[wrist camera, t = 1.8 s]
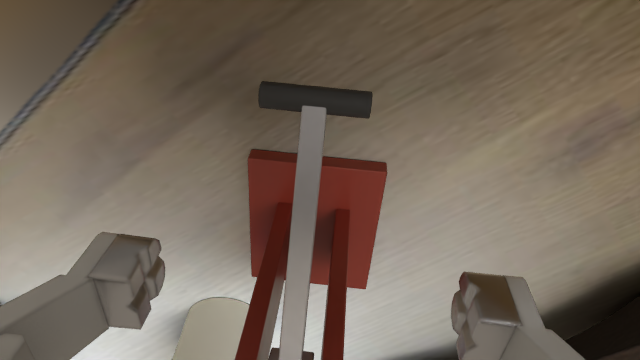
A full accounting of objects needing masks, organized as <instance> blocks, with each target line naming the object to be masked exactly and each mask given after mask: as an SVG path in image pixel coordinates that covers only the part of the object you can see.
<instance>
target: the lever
mask: <svg viewBox="0 0 640 360" xmlns="http://www.w3.org/2000/svg"><path fill="white" fill-rule="evenodd" d="M259 106H260V108H266V109H276V110H287V111H297V112H301V123H300V134H299V144H298V155H297V166H296V176H295V187H294V198H293V209H292V219H291V230H290V241H289V252H288V262H287V273H286V284H285V294H284V305H283V316H282V327H281V337H280V348H272V349H271V352H270V355H269V358H268V360H314V353H313V352H306V351H303V347H304V337H305V327H306V317H307V307H308V297H309V287H310V277H311V267H312V257H313V247H314V237H315V227H316V217H317V207H318V197H319V187H320V177H321V167H322V157H323V147H324V137H325V127H326V117H327V115H337V116H347V117H357V118H369V117H370V113H371V106H372V92H369V91H359V90H349V89H338V88H328V87H318V86H307V85H297V84H286V83H276V82H266V81H262V82H261V84H260V88H259Z"/></svg>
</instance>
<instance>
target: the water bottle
mask: <svg viewBox="0 0 640 360" xmlns="http://www.w3.org/2000/svg"><path fill="white" fill-rule="evenodd" d="M249 306H250V305H249V304H246V303H244V302H241V301H238V300H235V299H230V298H209V299H205V300H202V301H200V302H198V303H196V304H195V305H193V306H192V307H191V309H190V310H189V312H188V315H187V318H186V321H185V324H184V327H183V330H182V333H181V336H180V339H179V342H178V345H177V347H176V350H175V353H174V356H173V359H172V360H235V357H236V353H237V349H238V346H239V342H240V338H241V335H242V331H243V327H244V324H245V320H246V317H247V313H248V309H249Z"/></svg>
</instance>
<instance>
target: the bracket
mask: <svg viewBox="0 0 640 360" xmlns="http://www.w3.org/2000/svg"><path fill="white" fill-rule="evenodd" d="M297 155H298V154H293V153H284V152H274V151H264V150H254V149H252V150H251V152H250V155H249V157H248V179H249V209H250V239H251V269H252V277H257V280H256V284H255V287H254V291H253V295H252V298H251V302H250V306H249V309H248V313H247V317H246V320H245V324H244V327H243V331H242V335H241V338H240V342H239V346H238V349H237V353H236V357H235V360H268V357H269V352H270V347H271V343H272V338H273V333H274V328H275V323H276V318H277V313H278V309H279V304H280V299H281V294H282V289H283V284H284V280H286V273H287V262H288V252H289V241H290V230H291V219H292V209H293V198H294V187H295V176H296V166H297ZM386 176H387V164H386V163H382V162H372V161H362V160H352V159H342V158H333V157H322V167H321V177H320V187H319V197H318V207H317V217H316V227H315V237H314V247H313V257H312V267H311V277H310V283H314V284H323V285H328V290H327V300H326V311H325V321H324V332H323V342H322V353H321V360H343V353H344V333H345V312H346V291H347V287H349V288H358V289H366V285H367V280H368V274H369V269H370V263H371V258H372V252H373V247H374V242H375V236H376V231H377V225H378V220H379V214H380V209H381V203H382V198H383V193H384V187H385V182H386Z"/></svg>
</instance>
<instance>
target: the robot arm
mask: <svg viewBox="0 0 640 360" xmlns="http://www.w3.org/2000/svg"><path fill="white" fill-rule="evenodd" d="M160 251H161V245H160V241H159V240H158V239H155V238H148V237H140V236H132V235H125V234H114V233H107V232H102V233H100V234H98V235H97V236H96V237H95V239H94V240H93V241H92V242H91V244H90V245H89V246H88V248H87V249H86V250H85V251H84V253H83V254H82V255H81V257H80V258H79V259H78V260H77V262H76V263H75V264H74V266H73V267H72V268H71V270H70V271H69V272H68V273H67V275H59V276H57V277H55V278H53V279H51V280H50V281H48V282H46V283H44V284H42V285H40V286H38V287H36V288H34V289H32V290H30V291H29V292H27V293H25V294H23V295H21V296H19V297H17V298H15V299H13V300H11V301H10V302H8V303H6V304H4V305H2V306H0V360H70V359H71V358H72V357H73V356H75V355H76V354H77V353H78V352H80V351H81V350H82V349H83V348H85V347H86V346H87V345H88V344H90V343H91V342H92V341H94V340H95V339H96V338H97V337H99V336H100V335H101V334H102V333H104V332H105V331H106V330H107V329H109V327H119V328H131V329H141V328H142V326H143V324H144V322H145V320H146V318H147V316H148V314H149V312H150V310H151V305H150V300H152V299H153V298H155V297H156V296H158V295H159V292H160V290H161V288H162V286H163V282H164V278H165V265H164V261H163V260H162V259H161V258H160V257H159V256H158V255H159V253H160ZM459 285H460V290H459V291H458V292H456V293H455V294H454V298H453V301H452V308H451V319H452V326H453V329H454V330H455V331H456V333H457V334H458V335H459V337H458V339H457V342H456V347H457V352H458V356H459V360H585V359H584V358H583V357H582V356H581V355H580V354H579V353H577V352H576V351H575V350H574V349H573V348H572V347H571V346H569V345H568V344H567V343H566V342H565V341H564V340H563V339H562V338H560V337H559V336H558V335H557V334H556V333H555V332H554V331H552V330H550V329H545V326H544V324H543V321H542V319H541V316H540V314H539V312H538V309H537V307H536V304H535V302H534V299H533V297H532V295H531V292H530V290H529V287H528V285H527V282H526V280H525V279H524V278H523V277H514V276H504V275H503V276H501V275H493V274H483V273H473V272H463V274H462V275H461V277H460V280H459Z"/></svg>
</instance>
